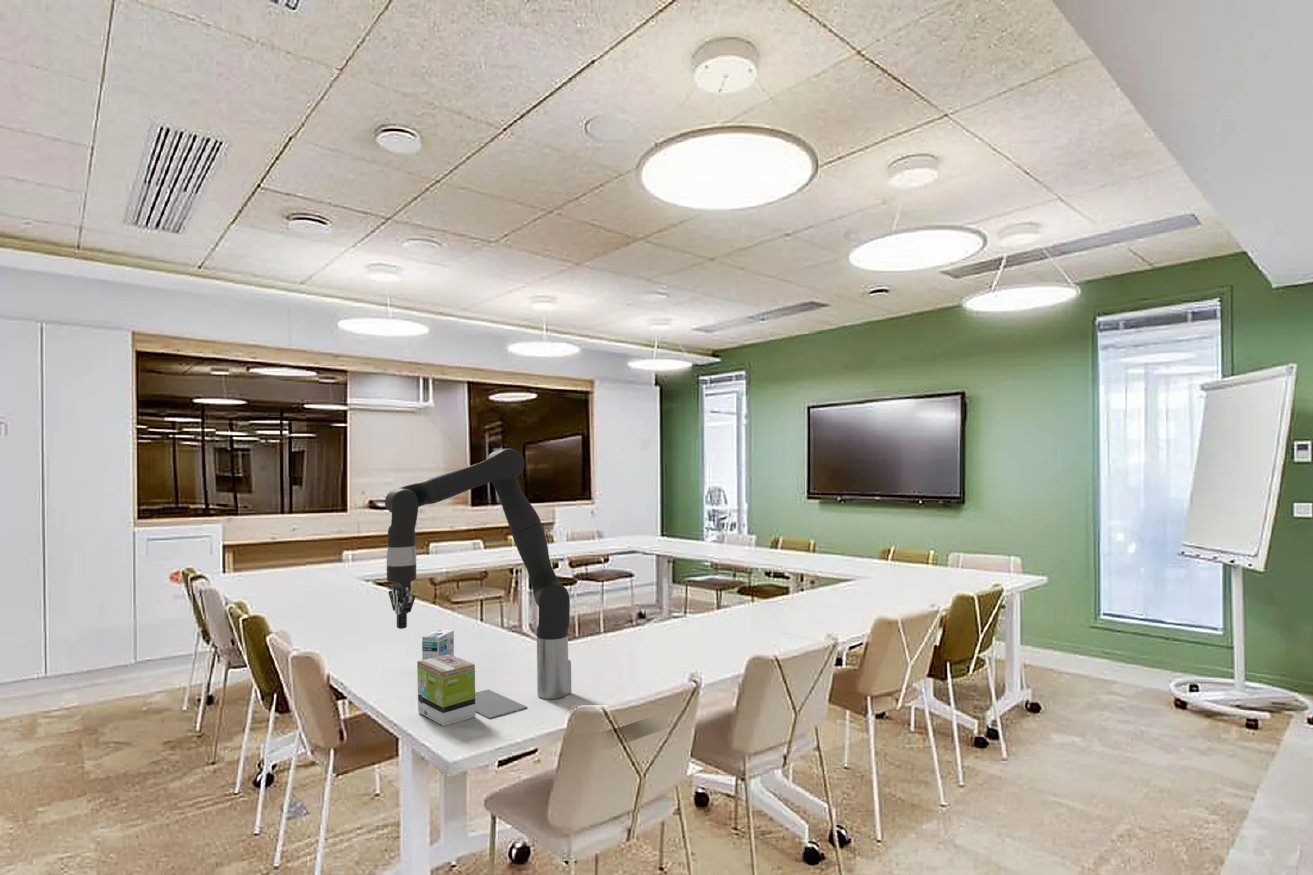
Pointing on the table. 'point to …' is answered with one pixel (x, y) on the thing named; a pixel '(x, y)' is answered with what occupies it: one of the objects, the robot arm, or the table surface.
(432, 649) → the light bulb box
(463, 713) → the tea box
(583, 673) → the table surface
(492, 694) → the mat
